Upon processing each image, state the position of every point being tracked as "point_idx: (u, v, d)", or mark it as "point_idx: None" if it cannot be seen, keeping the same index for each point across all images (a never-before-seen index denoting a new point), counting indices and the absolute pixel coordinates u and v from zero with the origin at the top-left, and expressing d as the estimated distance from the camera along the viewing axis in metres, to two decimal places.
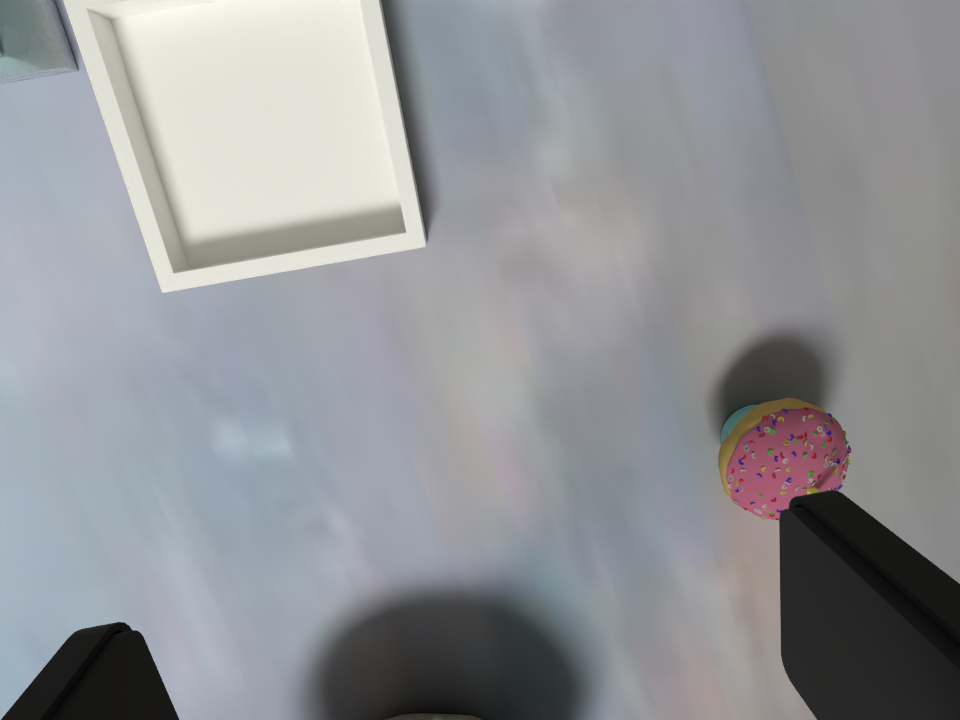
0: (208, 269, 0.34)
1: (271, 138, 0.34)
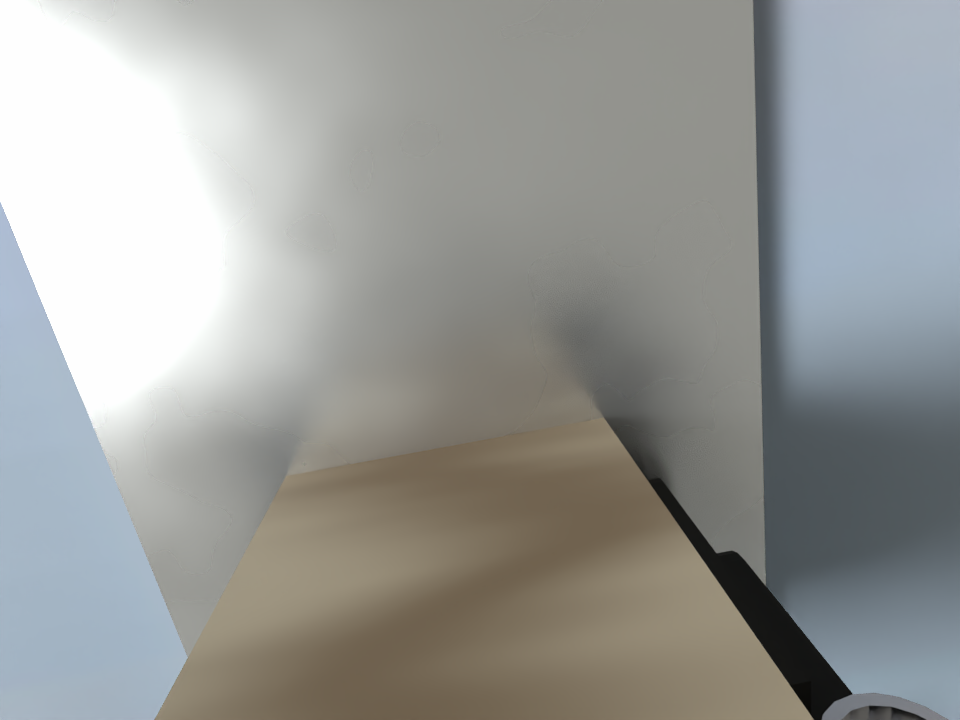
0: None
1: None
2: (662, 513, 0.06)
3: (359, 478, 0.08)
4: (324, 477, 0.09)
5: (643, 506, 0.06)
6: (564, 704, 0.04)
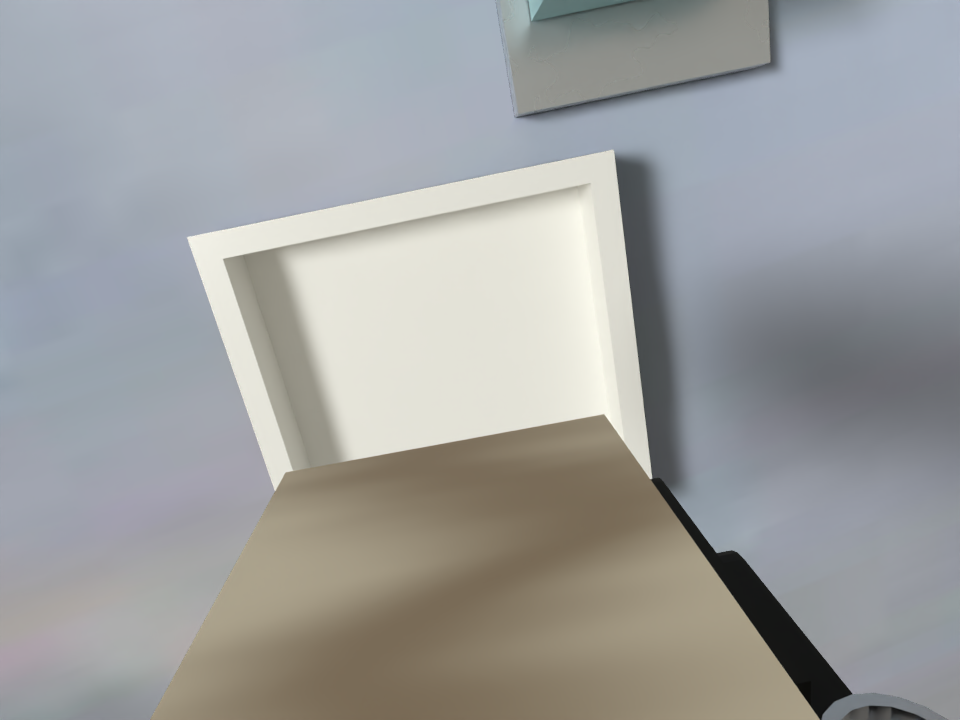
0: (237, 313, 0.22)
1: (437, 379, 0.25)
2: (662, 508, 0.06)
3: (359, 474, 0.08)
4: (323, 473, 0.09)
5: (643, 501, 0.06)
6: (564, 699, 0.04)
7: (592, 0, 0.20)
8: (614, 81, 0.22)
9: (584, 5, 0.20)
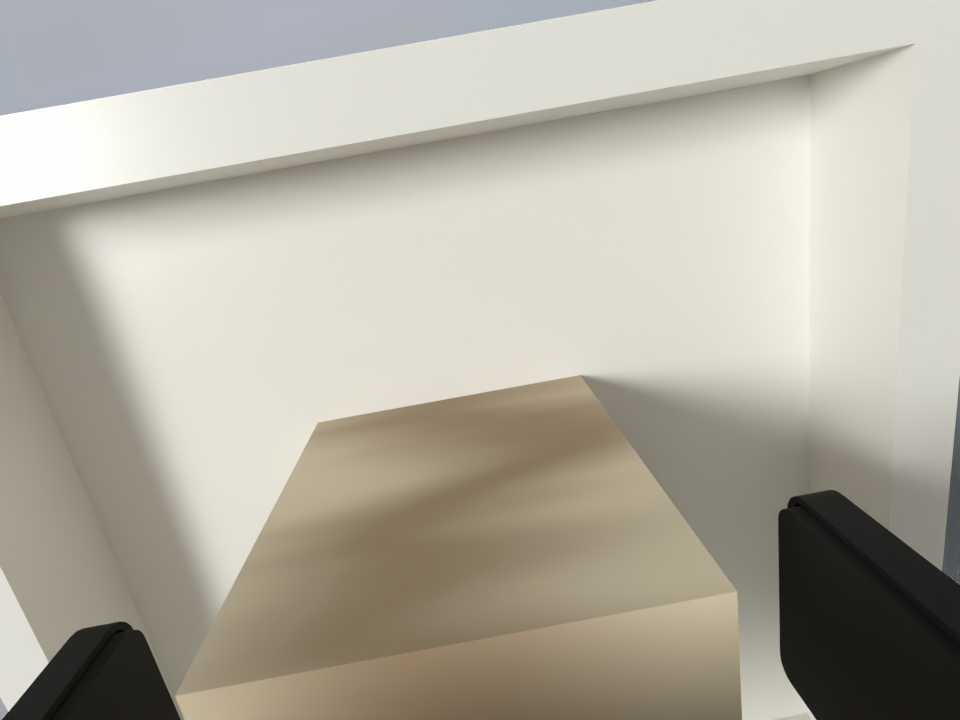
0: None
1: None
2: (617, 435, 0.08)
3: (379, 421, 0.10)
4: (349, 421, 0.10)
5: (603, 431, 0.08)
6: (535, 542, 0.06)
7: None
8: None
9: None
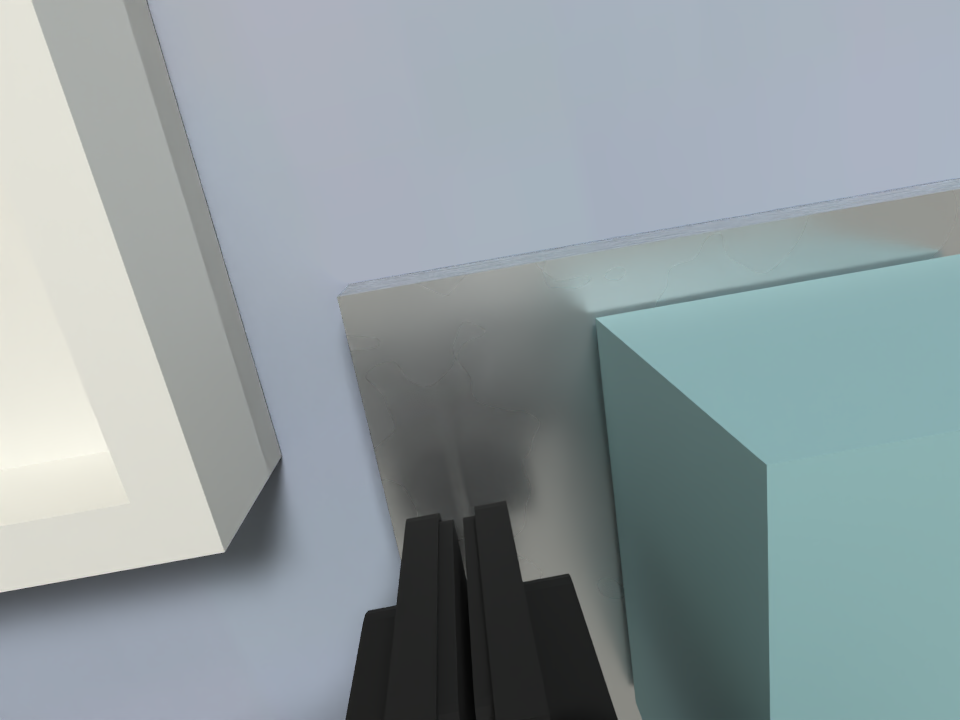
0: None
1: None
2: None
3: None
4: None
5: None
6: None
7: (629, 463, 0.09)
8: (413, 505, 0.10)
9: (619, 440, 0.09)
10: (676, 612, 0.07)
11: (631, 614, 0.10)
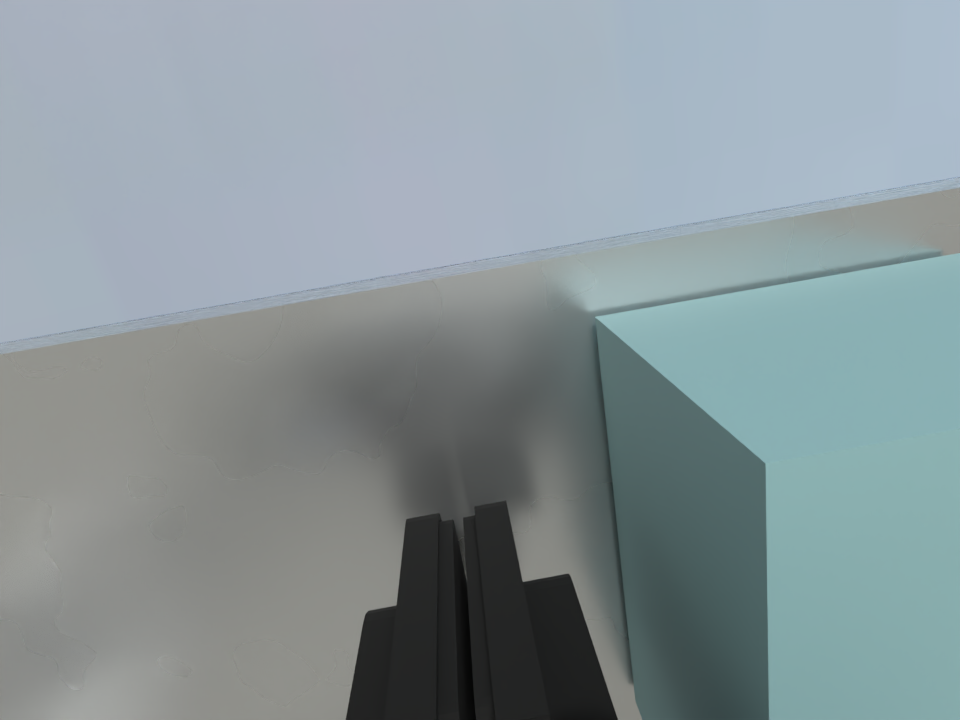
0: None
1: None
2: None
3: None
4: None
5: None
6: None
7: (629, 462, 0.09)
8: None
9: (618, 439, 0.09)
10: (675, 610, 0.07)
11: (631, 613, 0.10)
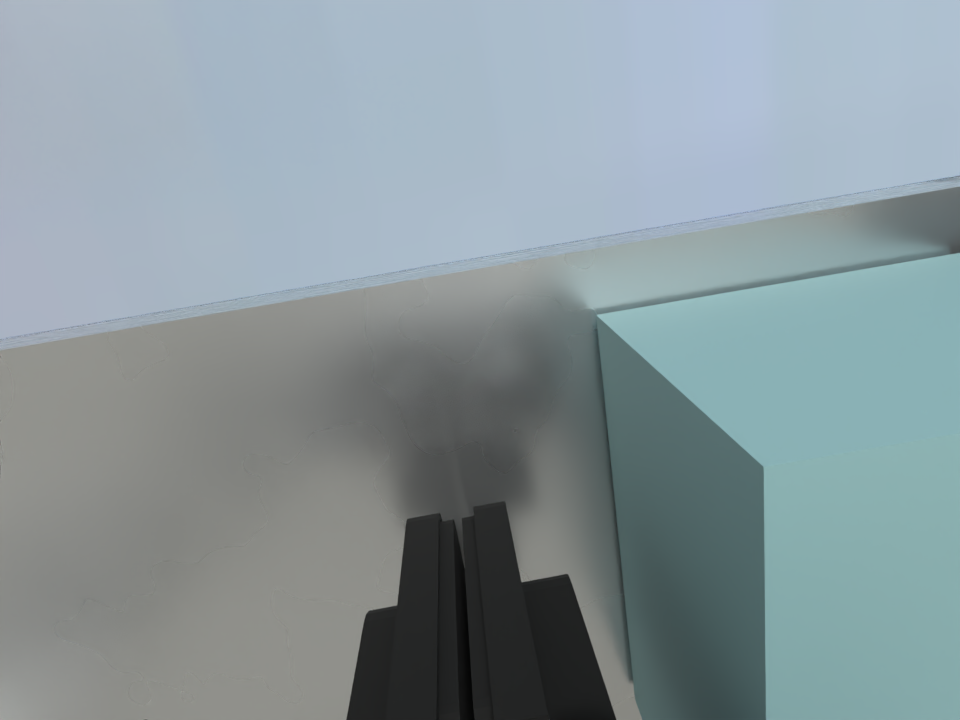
0: None
1: None
2: None
3: None
4: None
5: None
6: None
7: (629, 461, 0.08)
8: None
9: (619, 438, 0.09)
10: (674, 611, 0.07)
11: (631, 612, 0.10)
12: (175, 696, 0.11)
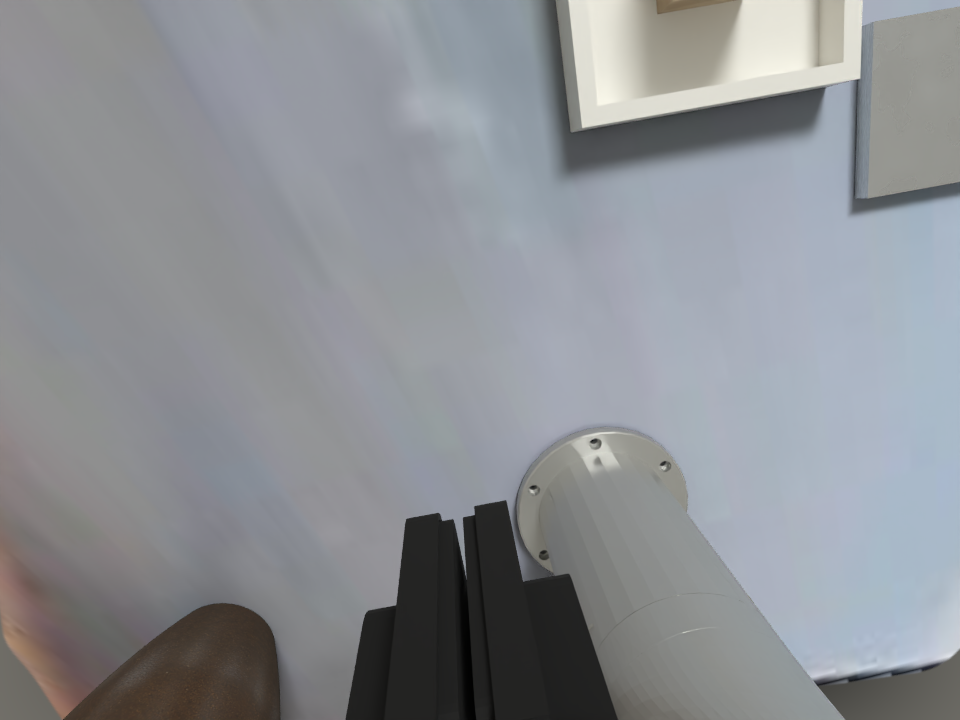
0: None
1: None
2: None
3: None
4: None
5: None
6: None
7: None
8: (878, 92, 0.34)
9: None
10: None
11: None
12: None
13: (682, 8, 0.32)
